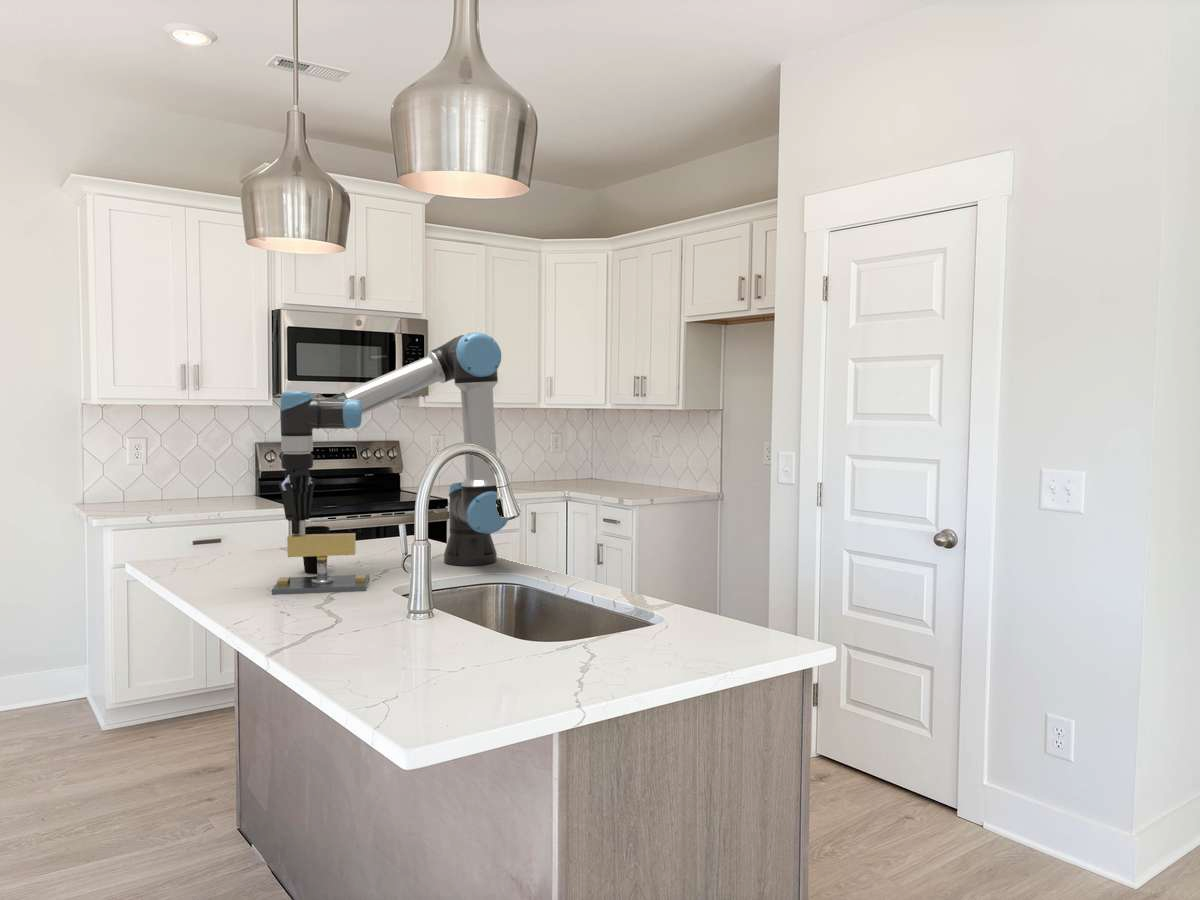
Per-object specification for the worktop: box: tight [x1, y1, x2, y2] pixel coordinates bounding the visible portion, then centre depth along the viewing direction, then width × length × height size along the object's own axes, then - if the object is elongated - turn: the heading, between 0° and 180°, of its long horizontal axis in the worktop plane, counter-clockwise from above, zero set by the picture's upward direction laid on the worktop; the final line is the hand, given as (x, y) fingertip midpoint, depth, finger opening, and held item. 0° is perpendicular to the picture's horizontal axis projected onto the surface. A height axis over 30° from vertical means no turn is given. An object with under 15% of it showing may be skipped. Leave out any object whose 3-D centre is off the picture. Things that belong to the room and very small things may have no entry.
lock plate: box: [271, 561, 371, 595], centre depth 221 cm, size 22×14×6 cm, turn 101°
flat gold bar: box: [286, 532, 357, 562], centre depth 220 cm, size 3×16×7 cm, turn 102°
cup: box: [302, 525, 331, 575], centre depth 238 cm, size 8×8×12 cm
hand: (298, 546), depth 222 cm, fingers closed
